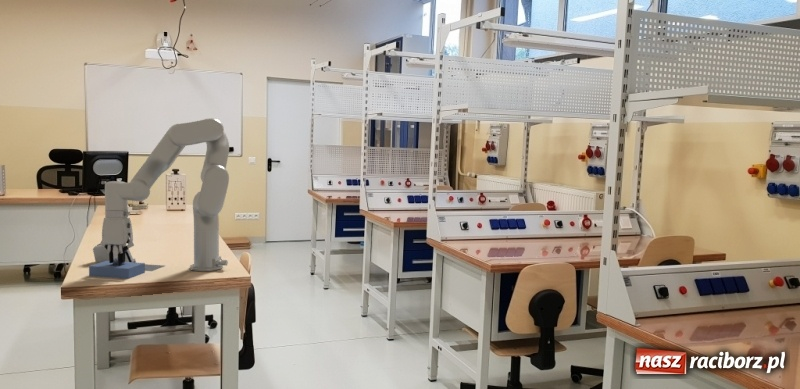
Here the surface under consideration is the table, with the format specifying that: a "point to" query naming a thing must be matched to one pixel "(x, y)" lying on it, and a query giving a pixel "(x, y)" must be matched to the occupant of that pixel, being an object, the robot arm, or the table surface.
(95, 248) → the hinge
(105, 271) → the hole block
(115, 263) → the peg
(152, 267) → the mat
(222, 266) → the robot arm
